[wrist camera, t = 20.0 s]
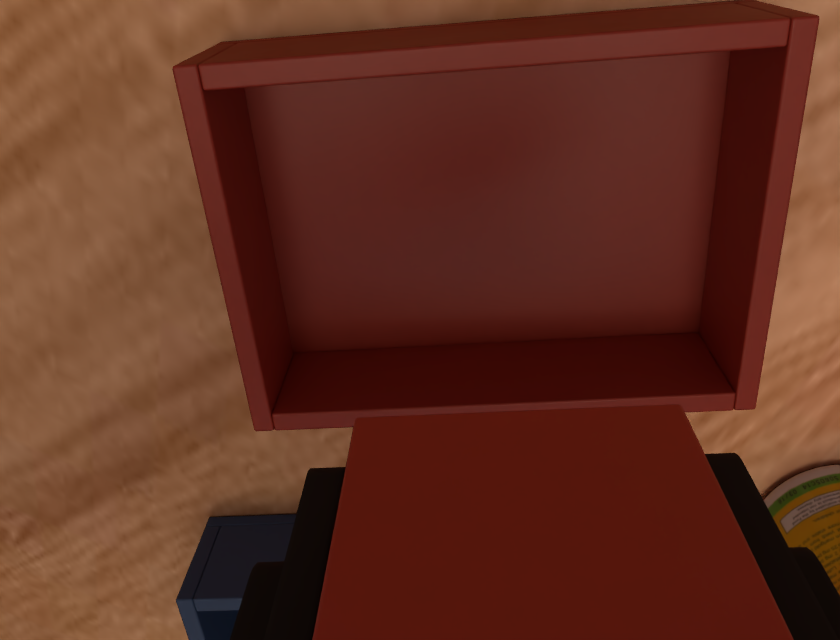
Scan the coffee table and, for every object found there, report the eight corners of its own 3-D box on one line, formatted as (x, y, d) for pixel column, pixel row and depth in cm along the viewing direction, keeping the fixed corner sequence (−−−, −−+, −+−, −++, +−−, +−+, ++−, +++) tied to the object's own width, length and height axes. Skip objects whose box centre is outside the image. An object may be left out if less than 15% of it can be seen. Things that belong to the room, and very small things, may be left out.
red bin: (281, 360, 25) (254, 432, 21) (219, 41, 20) (170, 66, 17) (710, 339, 24) (756, 410, 20) (752, -1, 19) (821, 14, 16)
